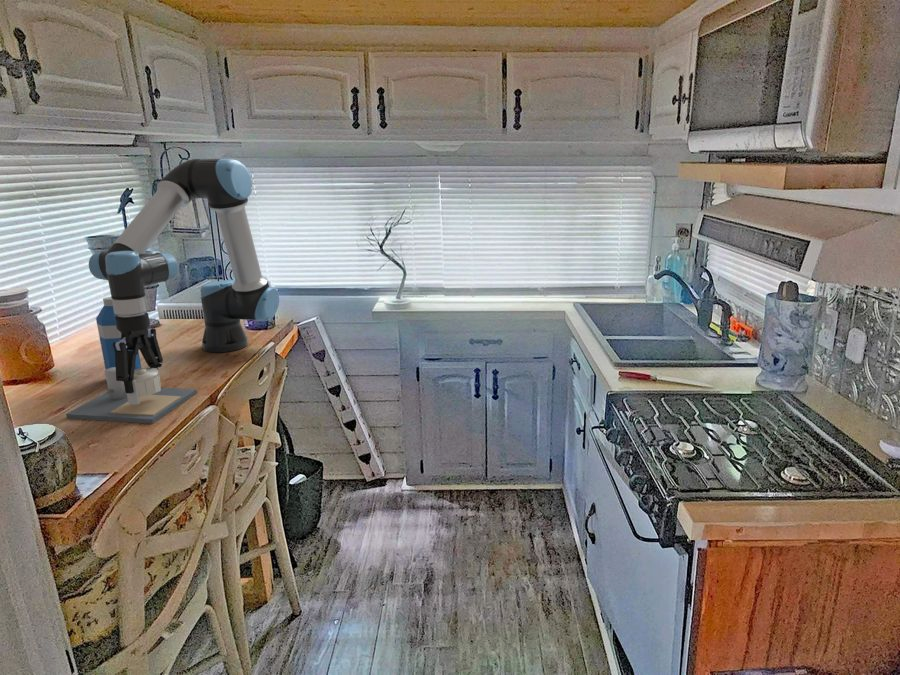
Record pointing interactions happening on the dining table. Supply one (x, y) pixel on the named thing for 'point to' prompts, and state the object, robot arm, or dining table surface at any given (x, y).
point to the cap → (147, 381)
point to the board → (118, 409)
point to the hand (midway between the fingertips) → (145, 397)
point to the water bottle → (110, 334)
